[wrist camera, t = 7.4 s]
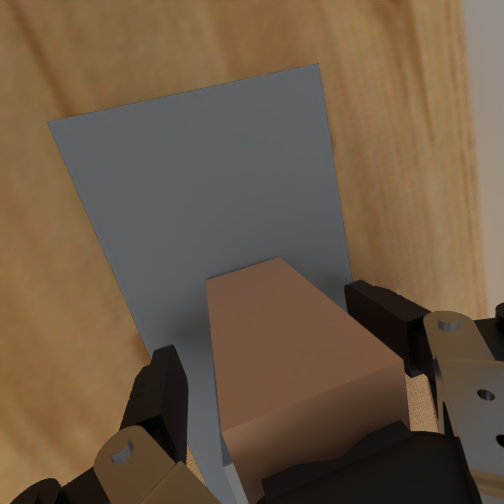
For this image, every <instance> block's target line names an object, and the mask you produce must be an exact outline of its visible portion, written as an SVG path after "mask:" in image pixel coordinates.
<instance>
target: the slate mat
mask: <svg viewBox="0 0 504 504" xmlns="http://www.w3.org/2000/svg"><path fill="white" fill-rule="evenodd" d="M47 124H48V126H49V128H50V131H51V133H52V135H53V137H54V140H55V142H56V144H57V147H58V149H59V151H60V153H61V156H62V158H63V160H64V162H65V165H66V167H67V169H68V172H69V174H70V176H71V178H72V181H73V183H74V185H75V188H76V190H77V192H78V194H79V197H80V199H81V201H82V203H83V206H84V208H85V210H86V213H87V215H88V217H89V219H90V222H91V224H92V226H93V228H94V231H95V233H96V235H97V238H98V240H99V242H100V244H101V247H102V249H103V251H104V254H105V256H106V258H107V260H108V263H109V265H110V267H111V269H112V272H113V274H114V276H115V279H116V281H117V283H118V285H119V288H120V290H121V292H122V295H123V297H124V299H125V301H126V304H127V306H128V308H129V310H130V313H131V315H132V317H133V320H134V322H135V324H136V326H137V329H138V331H139V333H140V336H141V338H142V340H143V342H144V345H145V347H146V349H147V351H148V354H149V356H150V358H151V359H152V355H153V352H154V350H156V349H159V348H162V347H165V346H168V345H171V344H173V345H174V346H175V348H176V351H177V353H178V356H179V358H180V361H181V363H182V366H183V368H184V371H185V373H186V376H187V380H188V387H189V395H188V425H187V443H188V445H189V447H190V449H191V452H192V454H193V456H194V459H195V461H196V463H197V465H198V468H199V470H200V472H201V474H202V477H203V479H204V481H205V484H206V486H207V488H208V489H209V490H210V492H211V493H212V494H213V495H214V496H215V497H216V498H217V499H218V500H219V501H220V502H221V503H222V504H238V503H237V501H236V498H235V496H234V493H233V491H232V488H231V486H230V483H229V481H228V478H227V476H226V473H225V471H224V468H223V461H222V451H221V441H220V431H219V421H218V411H217V401H216V391H215V381H214V371H213V361H212V358H213V348H212V339H211V330H210V320H209V311H208V302H207V292H206V283H205V280H208V279H211V278H214V277H218V276H221V275H224V274H227V273H230V272H233V271H237V270H240V269H243V268H246V267H249V266H252V265H255V264H259V263H262V262H265V261H268V260H271V259H274V258H278V257H280V258H281V259H283V260H284V261H285V262H286V263H287V264H289V265H290V266H291V267H292V268H293V269H295V270H296V271H297V272H298V273H299V274H301V275H302V276H303V277H304V278H305V279H307V280H308V281H309V282H310V283H311V284H313V285H314V286H315V287H316V288H317V289H319V290H320V291H321V292H322V293H323V294H325V295H326V296H327V297H328V298H329V299H331V300H332V301H333V302H334V303H335V304H337V305H338V306H339V307H340V308H341V309H343V310H344V311H345V312H346V313H348V312H347V306H346V300H345V294H344V286H345V285H346V284H349V283H352V282H353V281H352V275H351V269H350V262H349V256H348V249H347V243H346V236H345V230H344V223H343V217H342V210H341V204H340V197H339V191H338V184H337V178H336V172H335V165H334V159H333V152H332V146H331V139H330V133H329V126H328V120H327V113H326V107H325V100H324V94H323V88H322V81H321V75H320V68H319V63H317V64H312V65H308V66H303V67H298V68H294V69H289V70H285V71H280V72H275V73H271V74H266V75H262V76H257V77H252V78H248V79H243V80H238V81H234V82H229V83H225V84H220V85H215V86H211V87H206V88H201V89H197V90H192V91H188V92H183V93H178V94H174V95H169V96H164V97H160V98H155V99H151V100H146V101H141V102H137V103H132V104H127V105H123V106H118V107H114V108H109V109H104V110H100V111H95V112H90V113H86V114H81V115H77V116H72V117H67V118H63V119H58V120H54V121H49V122H47Z"/></svg>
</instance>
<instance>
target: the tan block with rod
mask: <svg viewBox="0 0 504 504" xmlns="http://www.w3.org/2000/svg"><path fill="white" fill-rule="evenodd" d="M205 283H206V292H207V302H208V311H209V320H210V330H211V339H212V348H213V358H214V367H215V376H216V386H217V395H218V405H219V414H220V423H221V432H222V435H223V438H224V440H225V443H226V446H227V448H228V451H229V453H230V456H231V459H232V461H233V464H234V466H235V469H236V472H237V474H238V477H239V480H240V482H241V485H242V487H243V490H244V493H245V495H246V498H247V500H248V503H249V504H255V503H256V502H257V501H258V500H259V499H260V498H262V497H263V496H264V495H265V494H264V489H263V485H262V479H264V478H267V477H269V476H271V475H274V474H276V473H278V472H281V471H283V470H285V469H287V468H290V467H292V466H294V465H297V464H303V463H310V462H318V461H326V460H334V459H338V458H340V457H342V456H343V455H344V454H345V453H346V452H347V451H349V450H350V449H351V448H352V447H353V446H354V445H356V444H357V443H358V442H359V441H360V440H361V439H362V438H364V437H365V436H366V435H367V434H368V433H371V432H373V431H375V430H378V429H380V428H382V427H385V426H387V425H389V424H392V423H394V422H396V421H398V420H401V421H402V422H403V423H404V424H405V426H406V427H407V428H408V429H409V430H410V420H409V410H408V400H407V391H406V381H405V371H404V362H403V359H402V358H400V357H399V356H398V355H397V354H396V353H394V352H393V351H392V350H391V349H390V348H388V347H387V346H386V345H385V344H384V343H382V342H381V341H380V340H379V339H378V338H376V337H375V336H374V335H373V334H372V333H370V332H369V331H368V330H367V329H366V328H364V327H363V326H362V325H361V324H360V323H358V322H357V321H356V320H355V319H354V318H352V317H351V316H350V315H349V314H348V313H346V312H345V311H344V310H343V309H341V308H340V307H339V306H338V305H337V304H335V303H334V302H333V301H332V300H331V299H329V298H328V297H327V296H326V295H325V294H323V293H322V292H321V291H320V290H319V289H317V288H316V287H315V286H314V285H313V284H311V283H310V282H309V281H308V280H307V279H305V278H304V277H303V276H302V275H301V274H299V273H298V272H297V271H296V270H295V269H293V268H292V267H291V266H290V265H289V264H287V263H286V262H285V261H284V260H283V259H281V258H280V257H278V258H274V259H271V260H268V261H265V262H262V263H259V264H255V265H252V266H249V267H246V268H243V269H240V270H237V271H233V272H230V273H227V274H224V275H221V276H218V277H214V278H211V279H208V280H205ZM410 431H411V430H410Z"/></svg>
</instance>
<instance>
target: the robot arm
mask: <svg viewBox="0 0 504 504" xmlns="http://www.w3.org/2000/svg"><path fill="white" fill-rule="evenodd" d="M344 294H345V300H346V306H347V312H348V314H349V315H350V316H351V317H352V318H354V319H355V320H356V321H357V322H358V323H360V324H361V325H362V326H363V327H364V328H366V329H367V330H368V331H369V332H370V333H372V334H373V335H374V336H375V337H376V338H378V339H379V340H380V341H381V342H382V343H384V344H385V345H386V346H387V347H388V348H390V349H391V350H392V351H393V352H394V353H396V354H397V355H398V356H399V357H400V358H402V359H403V362H404V371H405V373H406V374H407V375H408V376H409V377H410V378H414V377H416V376H419V375H421V374H425V375H426V376H427V379H428V387H429V392H430V397H431V401H432V406H433V410H434V415H435V419H436V424H437V428H438V433H436V432H428V431H410V430H409V429H408V428H407V427H406V426H405V424H404V423H403V422H402V421H401V420H398V421H396V422H394V423H392V424H389V425H387V426H385V427H382V428H380V429H378V430H375V431H373V432H371V433H368V434H367V435H366V436H365V437H364V438H362V439H361V440H360V441H359V442H358V443H357V444H356V445H354V446H353V447H352V448H351V449H350V450H349V451H347V452H346V453H345V454H344V455H343V456H342V457H340V458H338V459H334V460H326V461H318V462H310V463H303V464H297V465H294V466H292V467H290V468H287V469H285V470H283V471H281V472H278V473H276V474H274V475H271V476H269V477H267V478H264V479H262V485H263V489H264V494H265V495H264V496H263V497H262V498H260V499H259V500H258V501H257V502H256V503H255V504H504V303H501V304H499V305H497V307H496V314H495V315H496V316H495V318H489V319H481V320H472V319H471V318H469V317H467V316H465V315H463V314H460V313H457V312H452V311H435V312H431V311H429V310H427V309H425V308H423V307H421V306H419V305H418V304H416V303H414V302H412V301H410V300H408V299H405V298H404V297H402V296H401V295H398V294H397V293H395V292H393V291H391V290H389V289H386V288H382V287H378V286H375V287H374V286H372V285H370V284H368V283H367V282H365V281H363V280H358V281H355V282H352V283H349V284H346V285H345V286H344ZM188 395H189V387H188V380H187V376H186V373H185V371H184V368H183V366H182V363H181V361H180V358H179V356H178V353H177V351H176V348H175V346H174V345H173V344H171V345H168V346H165V347H162V348H159V349H156V350H154V352H153V355H152V359H151V363H150V365H148V366H145V367H143V368H142V370H141V371H140V372H139V374H138V375H137V376H136V378H135V381H134V384H133V387H132V391H131V394H130V397H129V398H130V399H129V400H128V403H127V407H126V410H125V413H124V416H123V419H122V423H121V426H120V429H119V432H117V433H116V434H114V435H113V436H112V437H111V438H110V439H109V440H108V441H107V442H106V443H105V444H104V445H103V446H102V448H101V449H100V451H99V452H98V454H97V456H96V458H95V461H94V466H93V467H91V468H90V469H89V470H87V471H86V472H84V473H83V474H81V475H80V476H78V477H77V478H75V479H74V480H72V481H71V482H69V483H68V484H66V485H65V486H63V487H61V485H60V484H59V482H58V481H57V480H56V479H53V478H48V479H44V480H41V481H39V482H37V483H35V484H33V485H32V486H30V487H29V488H27V489H26V490H25V491H23V492H22V493H21V494H20V495H18V496H17V497H16V498H15V499H14V500H13V501H12V502H11V503H10V504H222V503H221V502H220V501H219V500H218V499H217V498H216V497H215V496H214V495H213V494H212V493H211V492H210V490H209V489H208V488H207V487H206V486H205V485H204V484H203V483H202V482H201V481H200V480H199V479H198V478H197V477H196V476H195V475H194V474H193V473H192V472H191V470H190V469H189V468H188V467H187V466H186V456H187V425H188Z"/></svg>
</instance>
